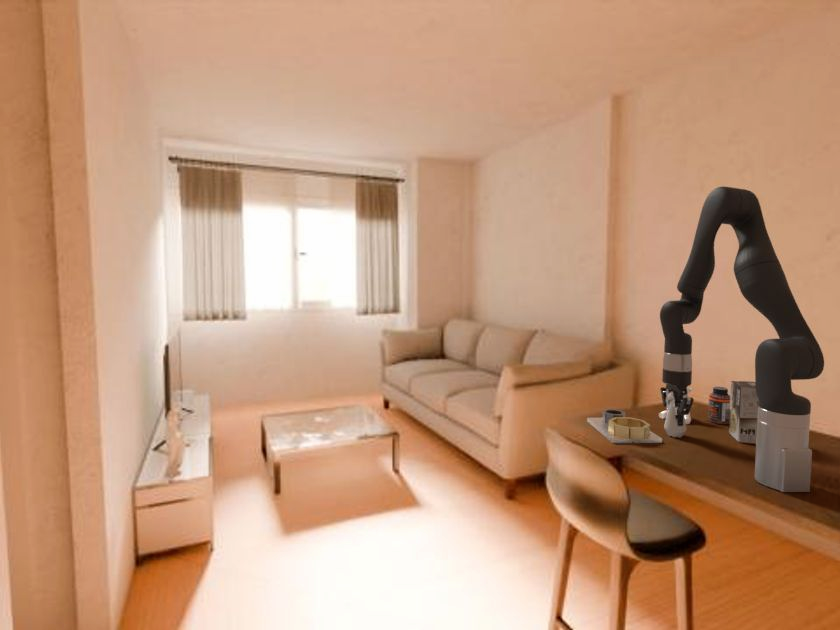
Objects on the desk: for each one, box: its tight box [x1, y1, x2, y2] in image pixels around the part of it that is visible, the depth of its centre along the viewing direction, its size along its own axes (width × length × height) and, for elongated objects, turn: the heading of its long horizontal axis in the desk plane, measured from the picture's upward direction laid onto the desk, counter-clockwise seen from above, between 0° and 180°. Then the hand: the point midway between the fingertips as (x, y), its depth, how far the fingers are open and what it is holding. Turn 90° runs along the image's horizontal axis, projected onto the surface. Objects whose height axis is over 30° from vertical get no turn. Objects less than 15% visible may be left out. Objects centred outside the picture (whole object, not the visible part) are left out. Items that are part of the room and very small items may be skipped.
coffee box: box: [728, 380, 758, 445], centre depth 132 cm, size 9×6×16 cm
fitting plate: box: [586, 408, 663, 444], centre depth 140 cm, size 20×14×4 cm
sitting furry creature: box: [658, 386, 693, 425], centre depth 151 cm, size 10×9×12 cm
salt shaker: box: [663, 392, 687, 439], centre depth 135 cm, size 6×6×13 cm
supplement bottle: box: [707, 386, 730, 425], centre depth 147 cm, size 6×6×11 cm
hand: (675, 424), depth 136 cm, fingers closed on salt shaker, 3 cm apart
